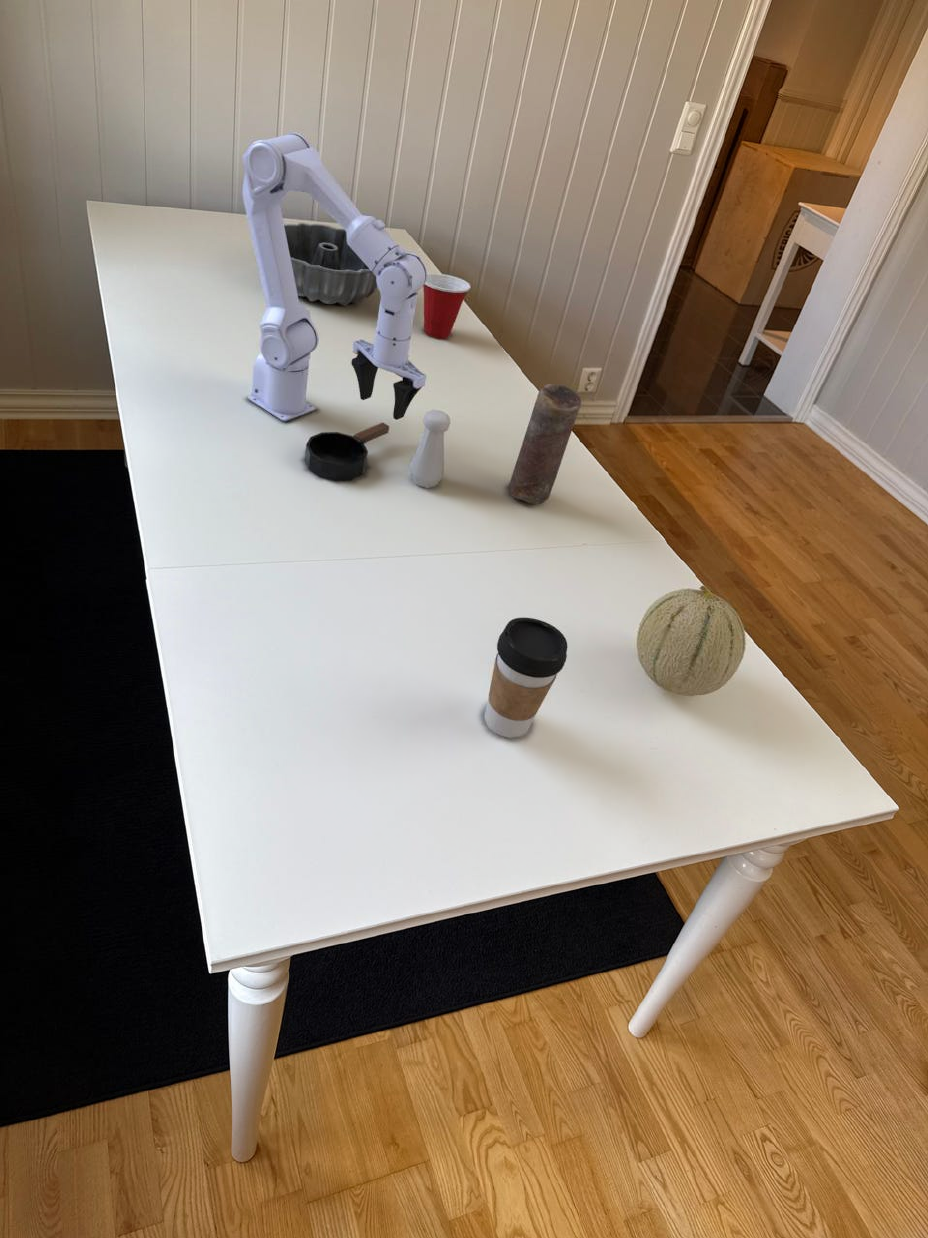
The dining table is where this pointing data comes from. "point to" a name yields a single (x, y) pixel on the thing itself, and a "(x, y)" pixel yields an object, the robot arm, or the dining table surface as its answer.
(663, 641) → the cantaloupe
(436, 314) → the plastic cup
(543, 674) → the coffee cup
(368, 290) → the bundt pan
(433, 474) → the salt shaker
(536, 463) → the candle
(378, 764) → the dining table surface
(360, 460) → the pan
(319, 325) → the dining table surface
